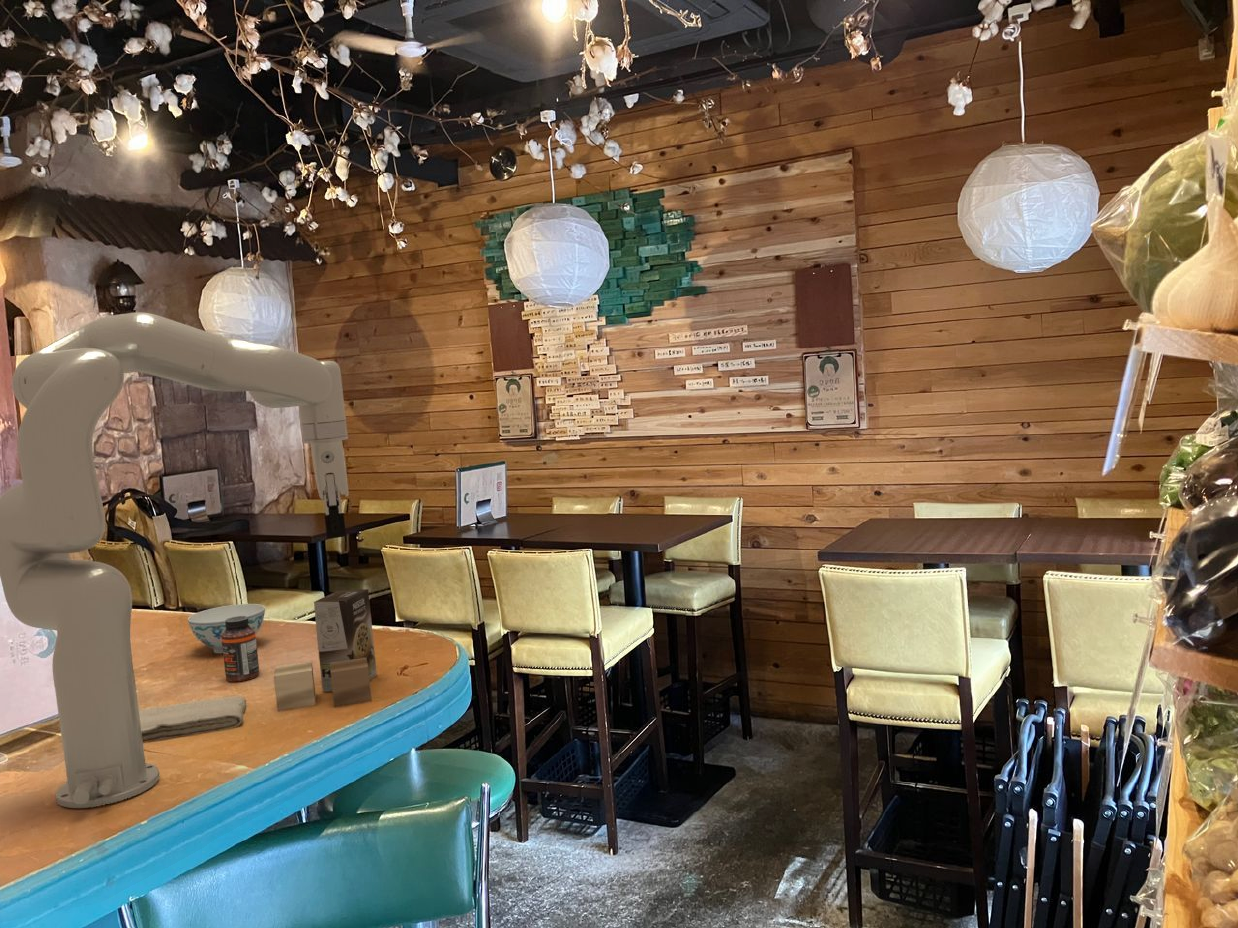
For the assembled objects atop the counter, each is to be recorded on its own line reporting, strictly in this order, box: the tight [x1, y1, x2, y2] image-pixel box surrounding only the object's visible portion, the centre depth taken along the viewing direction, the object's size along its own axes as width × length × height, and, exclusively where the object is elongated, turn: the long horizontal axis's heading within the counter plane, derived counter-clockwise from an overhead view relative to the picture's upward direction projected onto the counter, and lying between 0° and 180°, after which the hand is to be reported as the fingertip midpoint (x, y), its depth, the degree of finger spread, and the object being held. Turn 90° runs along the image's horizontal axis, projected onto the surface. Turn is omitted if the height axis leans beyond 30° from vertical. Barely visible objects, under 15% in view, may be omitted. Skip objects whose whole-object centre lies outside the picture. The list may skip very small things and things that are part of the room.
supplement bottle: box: [221, 616, 260, 683], centre depth 183 cm, size 6×6×11 cm
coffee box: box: [313, 588, 378, 692], centre depth 173 cm, size 9×6×16 cm
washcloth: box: [139, 695, 247, 743], centre depth 159 cm, size 12×18×3 cm, turn 107°
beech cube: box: [273, 660, 316, 712], centre depth 166 cm, size 6×6×6 cm
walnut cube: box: [330, 658, 372, 708], centre depth 165 cm, size 6×6×6 cm
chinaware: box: [187, 603, 266, 655], centre depth 204 cm, size 15×15×8 cm
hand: (336, 536), depth 172 cm, fingers closed
